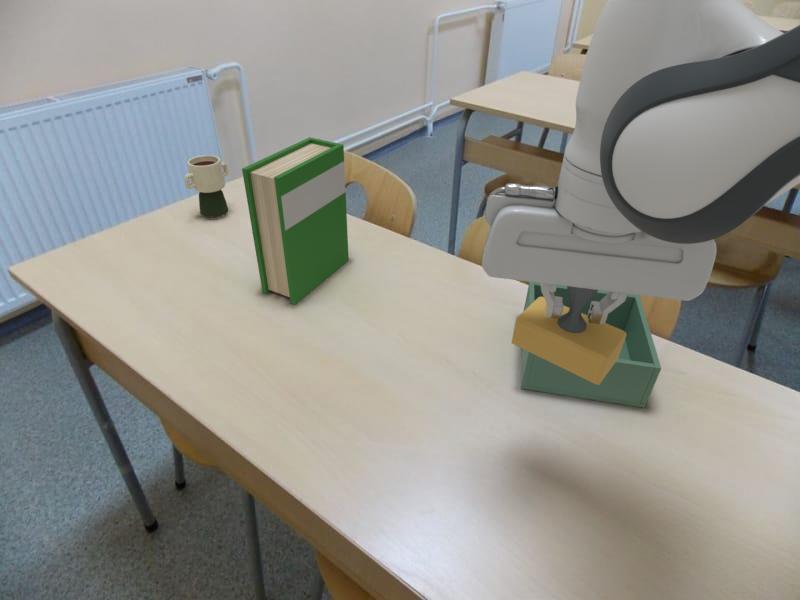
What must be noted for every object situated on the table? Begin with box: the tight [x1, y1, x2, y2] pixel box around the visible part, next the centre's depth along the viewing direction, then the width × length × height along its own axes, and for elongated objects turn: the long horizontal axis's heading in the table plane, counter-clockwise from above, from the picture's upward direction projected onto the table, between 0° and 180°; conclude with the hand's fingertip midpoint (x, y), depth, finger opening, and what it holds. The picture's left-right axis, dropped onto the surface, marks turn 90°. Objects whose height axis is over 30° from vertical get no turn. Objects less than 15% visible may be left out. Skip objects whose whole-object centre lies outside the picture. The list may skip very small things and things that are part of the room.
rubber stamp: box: [511, 286, 627, 385], centre depth 52 cm, size 10×6×12 cm, turn 51°
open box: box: [520, 282, 662, 409], centre depth 81 cm, size 18×18×8 cm
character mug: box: [183, 154, 229, 218], centre depth 117 cm, size 11×7×13 cm, turn 142°
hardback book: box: [241, 136, 350, 305], centre depth 94 cm, size 18×7×24 cm, turn 151°
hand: (574, 317), depth 53 cm, fingers closed on rubber stamp, 3 cm apart
